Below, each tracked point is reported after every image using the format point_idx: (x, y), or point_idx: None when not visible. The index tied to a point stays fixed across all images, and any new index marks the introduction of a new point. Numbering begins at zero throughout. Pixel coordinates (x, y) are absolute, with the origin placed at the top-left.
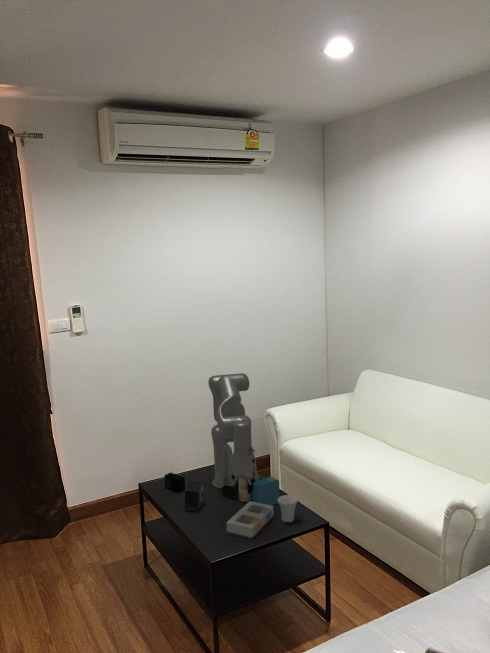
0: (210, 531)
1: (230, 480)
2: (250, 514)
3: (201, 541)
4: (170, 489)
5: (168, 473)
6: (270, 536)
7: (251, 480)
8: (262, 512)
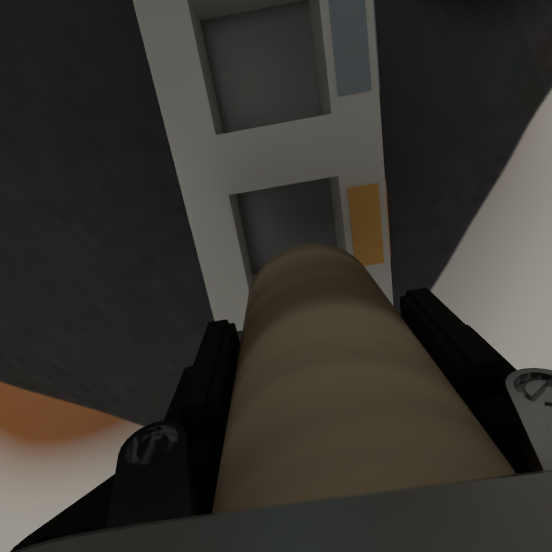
0: (143, 332)
1: None
2: (281, 163)
3: None
4: None
5: None
6: (446, 198)
7: (535, 434)
8: (347, 85)
